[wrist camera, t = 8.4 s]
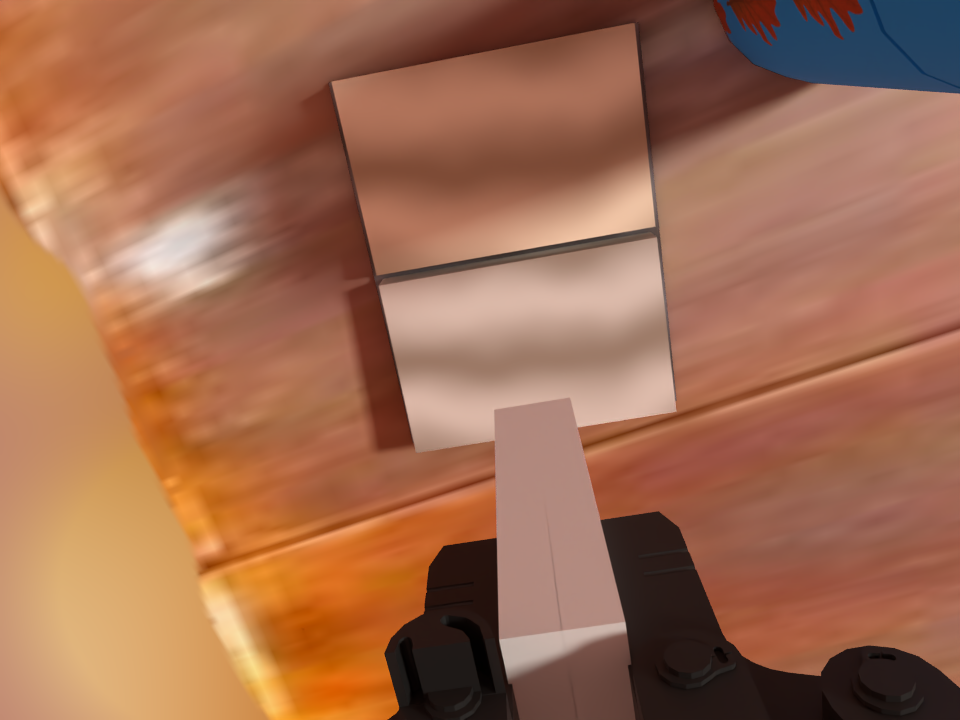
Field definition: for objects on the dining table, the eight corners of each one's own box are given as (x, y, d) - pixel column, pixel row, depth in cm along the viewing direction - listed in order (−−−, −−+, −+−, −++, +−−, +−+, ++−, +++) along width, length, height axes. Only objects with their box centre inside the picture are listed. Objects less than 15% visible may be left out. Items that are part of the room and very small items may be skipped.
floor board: (329, 82, 41) (321, 83, 39) (637, 22, 40) (644, 20, 38) (413, 440, 48) (410, 456, 46) (675, 398, 47) (683, 413, 45)
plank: (383, 278, 44) (378, 285, 43) (650, 231, 43) (656, 237, 42) (418, 440, 47) (416, 452, 46) (669, 400, 46) (676, 411, 45)
